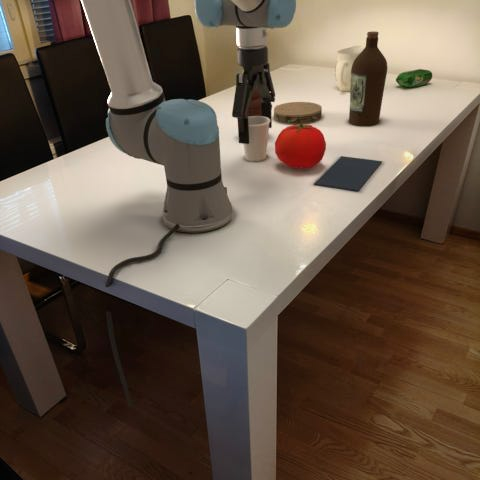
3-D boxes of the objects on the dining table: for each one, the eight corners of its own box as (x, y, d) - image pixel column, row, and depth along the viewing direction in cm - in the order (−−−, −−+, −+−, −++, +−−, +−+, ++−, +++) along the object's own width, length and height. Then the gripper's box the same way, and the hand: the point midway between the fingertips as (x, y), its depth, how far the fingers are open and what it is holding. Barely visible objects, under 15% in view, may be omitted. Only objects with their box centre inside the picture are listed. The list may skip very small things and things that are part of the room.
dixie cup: (238, 162, 133) (236, 125, 127) (243, 152, 139) (241, 115, 133) (269, 162, 132) (268, 124, 126) (272, 152, 138) (271, 115, 132)
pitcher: (325, 94, 185) (327, 54, 177) (341, 83, 197) (344, 45, 189) (353, 96, 181) (357, 55, 172) (368, 85, 193) (372, 46, 185)
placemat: (358, 191, 114) (358, 190, 114) (314, 184, 118) (314, 183, 118) (381, 162, 128) (381, 161, 127) (341, 157, 132) (341, 156, 132)
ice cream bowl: (270, 144, 144) (269, 89, 135) (233, 143, 146) (229, 89, 137) (275, 132, 152) (274, 80, 143) (240, 132, 154) (237, 80, 145)
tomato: (333, 163, 129) (335, 121, 123) (311, 179, 121) (312, 135, 115) (289, 155, 136) (289, 115, 129) (265, 170, 128) (265, 128, 121)
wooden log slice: (276, 126, 157) (276, 116, 156) (271, 112, 170) (271, 103, 168) (325, 123, 157) (325, 113, 155) (317, 109, 170) (317, 100, 168)
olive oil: (366, 115, 162) (375, 28, 146) (387, 122, 154) (399, 31, 139) (340, 120, 158) (346, 32, 143) (361, 129, 150) (370, 36, 135)
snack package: (391, 87, 189) (393, 72, 186) (420, 80, 195) (422, 66, 191) (404, 91, 184) (406, 76, 181) (434, 84, 190) (437, 69, 186)
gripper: (241, 57, 109) (246, 152, 122) (287, 37, 126) (287, 122, 139) (213, 56, 112) (221, 148, 125) (261, 37, 129) (263, 120, 142)
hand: (255, 135), depth 132 cm, fingers open, 13 cm apart
